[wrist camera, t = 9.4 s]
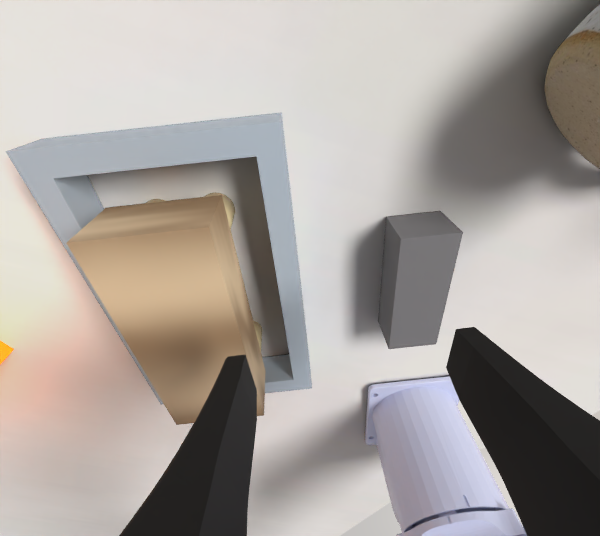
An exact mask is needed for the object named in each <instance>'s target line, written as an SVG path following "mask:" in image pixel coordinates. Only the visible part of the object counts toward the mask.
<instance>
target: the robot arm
mask: <svg viewBox="0 0 600 536" xmlns="http://www.w3.org/2000/svg"><path fill="white" fill-rule="evenodd" d="M446 368H447V371H448V373H449V376H448V377H438V378H429V379H419V380H410V381H401V382H391V383H382V384H373V385H371V386H369V388H368V400H367V416H366V433H365V442H366V444H367V445H377V448H378V452H379V456H380V460H381V464H382V468H383V472H384V476H385V480H386V484H387V488H388V492H389V496H390V500H391V504H392V508H393V511H394V514H395V516H396V519H397V521H398V522H399V524H400V527H401V530H402V533H400V534H397V536H600V421H599V420H598V419H596V418H595V417H593V416H592V415H590V414H589V413H587V412H586V411H584V410H583V409H581V408H580V407H578V406H577V405H576V404H574V403H573V402H571V401H570V400H568V399H567V398H566V397H564V396H563V395H561V394H560V393H558V392H557V391H556V390H554V389H553V388H552V387H550V386H549V385H548V384H546V383H545V382H543V381H542V380H541V379H539V378H538V377H537V376H536V375H534V374H533V373H532V372H530V371H529V370H528V369H526V368H525V367H524V366H522V365H521V364H520V363H519V362H517V361H516V360H515V359H514V358H512V357H511V356H510V355H509V354H507V353H506V352H505V351H503V350H502V349H501V348H500V347H499V346H497V345H496V344H495V343H494V342H492V341H491V340H490V339H489V338H487V337H486V336H485V335H484V334H482V333H481V332H480V331H479V330H477V329H476V328H475V327H471V328H462V329H456V332H455V335H454V339H453V343H452V347H451V351H450V355H449V359H448V363H447V367H446ZM459 400H460V401H461V403H462V405H463V407H464V409H465V411H466V413H467V414H468V416H469V418H470V420H471V422H472V424H473V425H474V427H475V429H476V431H477V433H478V434H479V436H480V438H481V440H482V442H483V443H484V445H485V447H486V449H487V451H488V452H489V454H490V456H491V458H492V460H493V462H494V463H495V465H496V467H497V469H498V471H499V473H500V475H501V477H502V479H503V481H504V483H505V485H506V488H507V490H508V492H509V495H510V497H511V499H512V501H513V503H514V505H515V508H516V510H517V512H518V515H519V517H520V519H521V522H522V524H523V527H522V525H521V523H520V521H519V519H518V517H517V515H516V513H515V511H514V509H512V508H511V509H509V507H508V505H507V503H506V501H505V499H504V497H503V495H502V493H501V491H500V489H499V487H498V485H497V483H496V481H495V479H494V477H493V475H492V473H491V471H490V470H489V468H488V466H487V464H486V462H485V460H484V458H483V456H482V454H481V452H480V450H479V448H478V446H477V444H476V442H475V440H474V438H473V436H472V434H471V432H470V430H469V428H468V426H467V424H466V422H465V420H464V419H463V417H462V415H461V413H460V411H459V409H458V407H457V405H458V402H459ZM256 422H257V389H256V386H255V383H254V380H253V376H252V373H251V370H250V367H249V364H248V361H247V358H246V354H245V355H236V356H228V357H227V358H226V359H225V361H224V364H223V366H222V368H221V371H220V373H219V375H218V377H217V379H216V381H215V384H214V386H213V388H212V390H211V392H210V394H209V396H208V398H207V400H206V402H205V404H204V405H203V407H202V409H201V411H200V413H199V415H198V417H197V419H196V421H195V422H194V424H193V426H192V428H191V429H190V431H189V433H188V435H187V436H186V438H185V440H184V441H183V443H182V445H181V447H180V448H179V450H178V452H177V453H176V455H175V457H174V458H173V460H172V461H171V463H170V464H169V466H168V468H167V469H166V471H165V472H164V474H163V475H162V477H161V478H160V480H159V481H158V483H157V484H156V486H155V487H154V489H153V490H152V492H151V493H150V494H149V496H148V497H147V499H146V500H145V501H144V503H143V504H142V506H141V507H140V508H139V510H138V511H137V513H136V514H135V515H134V517H133V518H132V519H131V521H130V522H129V523H128V525H127V526H126V527H125V529H124V530H123V531H122V533H121V534H120V535H119V536H247V508H248V495H249V485H250V476H251V467H252V459H253V450H254V441H255V431H256ZM523 528H524V529H523Z"/></svg>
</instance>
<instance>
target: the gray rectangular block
mask: <svg viewBox="0 0 600 536" xmlns="http://www.w3.org/2000/svg"><path fill="white" fill-rule="evenodd" d="M462 234H463V232H462V231H461V230H460V229H459V228H458V227H457V226H456V225H455V224H454V223H453V222H451V221H450V220H449V219H448V218H447V217H446V216H445V215H444V214H443V213H442V212H441V211H435V212H426V213H417V214H408V215H398V216H389V217H386V227H385V240H384V253H383V266H382V279H381V292H380V305H379V318H378V322H379V324H380V327H381V330H382V332H383V335H384V338H385V340H386V343H387V345H388V348H389V349H395V348H404V347H413V346H423V345H432V344H436V342H437V338H438V334H439V330H440V326H441V321H442V317H443V313H444V309H445V305H446V301H447V296H448V292H449V288H450V284H451V280H452V275H453V271H454V267H455V263H456V259H457V255H458V250H459V246H460V242H461V238H462Z"/></svg>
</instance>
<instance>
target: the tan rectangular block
mask: <svg viewBox="0 0 600 536" xmlns="http://www.w3.org/2000/svg"><path fill="white" fill-rule="evenodd" d="M66 244H67V245H68V247H69V249H70V250H71V252H72V253H73V255H74V257H75V258H76V260H77V262H78V263H79V265H80V267H81V268H82V270H83V272H84V273H85V275H86V277H87V278H88V280H89V281H90V283H91V285H92V286H93V288H94V290H95V291H96V293H97V295H98V296H99V298H100V300H101V301H102V303H103V304H104V306H105V308H106V309H107V311H108V313H109V314H110V316H111V318H112V319H113V321H114V323H115V324H116V326H117V328H118V329H119V331H120V332H121V334H122V336H123V337H124V339H125V341H126V342H127V344H128V346H129V347H130V349H131V351H132V352H133V354H134V355H135V357H136V359H137V360H138V362H139V364H140V365H141V367H142V369H143V370H144V372H145V374H146V375H147V377H148V379H149V380H150V382H151V383H152V385H153V387H154V388H155V390H156V392H157V393H158V395H159V397H160V398H161V400H162V402H163V403H164V405H165V407H166V408H167V410H168V411H169V413H170V415H171V416H172V418H173V420H174V421H175V423H176V425H179V424H188V423H194V422H195V421H196V419H197V417H198V415H199V413H200V411H201V409H202V407H203V405H204V404H205V402H206V400H207V398H208V396H209V394H210V392H211V390H212V388H213V386H214V384H215V381H216V379H217V377H218V375H219V373H220V371H221V368H222V366H223V364H224V361H225V359H226V358H227V357H228V356H236V355H245V354H246V358H247V361H248V364H249V367H250V370H251V373H252V376H253V380H254V383H255V386H256V389H257V416H262V415H264V397H265V367H264V363H263V359H262V355H261V351H260V347H259V343H258V339H257V335H256V331H255V327H254V323H253V319H252V315H251V311H250V307H249V303H248V298H247V294H246V290H245V286H244V282H243V278H242V274H241V270H240V266H239V262H238V258H237V254H236V250H235V246H234V242H233V238H232V234H231V230H230V226H229V222H228V218H227V214H226V210H225V206H224V202H223V198H222V195H218V196H209V197H200V198H191V199H182V200H172V201H163V202H154V203H145V204H136V205H127V206H118V207H109V208H105V209H104V210H103V211H102V212H101V213H99V214H98V215H97V216H96V217H95V218H94V219H93V220H91V221H90V222H89V223H88V224H87V225H86V226H85V227H84V228H82V229H81V230H80V231H79V232H78V233H77V234H76V235H75V236H73V237H72V238H71V239H70V240H69V241H68V242H67V243H66Z"/></svg>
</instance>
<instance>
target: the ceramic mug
mask: <svg viewBox="0 0 600 536" xmlns="http://www.w3.org/2000/svg"><path fill="white" fill-rule="evenodd" d="M545 96H546V101H547V106H548V108H549V111H550V113H551V115H552V118H553V120H554V122H555V123H556V125H557V126H558V128H559V130H560V131H561V133H562V134H563V136H564V137H565V138H566V139H567V140H568V142H569V143H570V144H571V145H572V146H573V147H574V148H575V149H576V150H577V151H578V152H579V153H580V154H581V155H582V156H583V157H584V158H585V159H586V160H588V161H589V162H591V163H592V164H593V165H595V166H596V167H598V168H599V169H600V4H599V5H598V6H597V7H596V8H595V9H594V10H593V11H592V12H590V13H589V14H588V15H587V16H586V17H585V19H584V20H583V21H582V22H581V23H580V24H579V25H578V26H577V27H576V28H575V29H574V30H573V31H572V32H571V33H570V34H569V36H568V37H567V38H566V39H565V40H564V41H563V43H562V44H561V45H560V46H559V48H558V49H557V50H556V52H555V53H554V55H553V56H552V58H551V60H550V63H549V66H548V70H547V74H546V78H545Z"/></svg>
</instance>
